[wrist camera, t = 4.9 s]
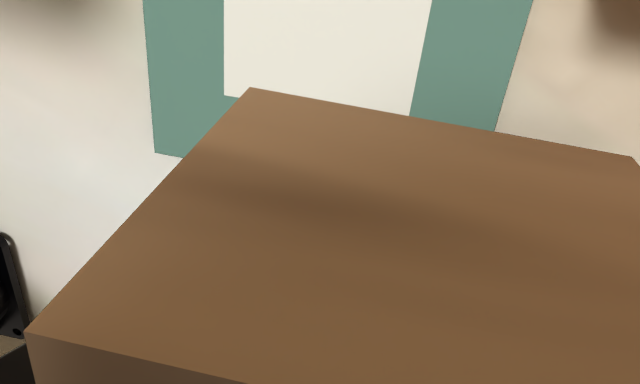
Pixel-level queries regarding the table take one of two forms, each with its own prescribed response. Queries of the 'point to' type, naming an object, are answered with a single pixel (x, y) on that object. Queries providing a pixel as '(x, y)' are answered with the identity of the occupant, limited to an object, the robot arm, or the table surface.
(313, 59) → the green flat square panel
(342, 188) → the walnut block
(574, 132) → the table surface
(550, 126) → the table surface
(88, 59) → the table surface
